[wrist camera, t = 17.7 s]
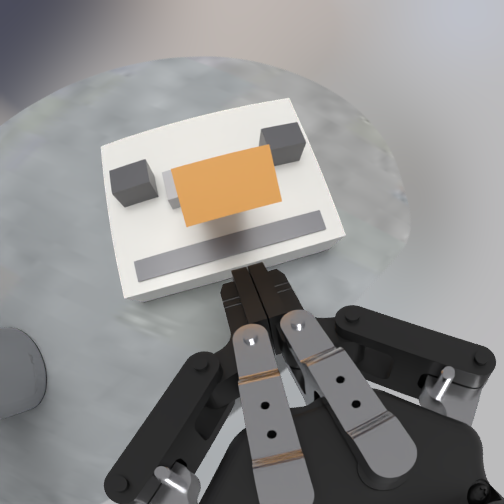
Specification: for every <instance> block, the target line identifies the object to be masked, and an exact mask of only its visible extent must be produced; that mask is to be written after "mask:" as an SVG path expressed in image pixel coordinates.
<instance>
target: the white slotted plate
mask: <svg viewBox="0 0 504 504" xmlns="http://www.w3.org/2000/svg"><path fill="white" fill-rule="evenodd" d="M268 144H269V146H270V150H271V154H272V159H273V163H274V167H275V172H276V176H277V180H278V185H279V189H280V194H281V198H282V202H278V203H274V204H270V205H266V206H262V207H259V208H255V209H251V210H247V211H243V212H240V213H236V214H232V215H229V216H225V217H221V218H218V219H214V220H210V221H207V222H203V223H200V224H196V225H193V226H189V227H186V224H185V220H184V216H183V213H182V209H181V206H180V202H179V199H178V195H177V191H176V188H175V184H174V180H173V176H172V172H171V169H173V168H176V167H180V166H183V165H187V164H190V163H194V162H198V161H201V160H205V159H209V158H213V157H217V156H221V155H225V154H229V153H233V152H237V151H241V150H245V149H250V148H254V147H259V146H263V145H268ZM101 154H102V165H103V175H104V184H105V192H106V200H107V207H108V214H109V221H110V227H111V233H112V239H113V245H114V250H115V256H116V261H117V266H118V271H119V276H120V281H121V285H122V290H123V294H124V298H125V299H129V300H134V301H138V302H146V301H150V300H153V299H157V298H161V297H164V296H168V295H172V294H175V293H179V292H182V291H186V290H190V289H193V288H197V287H200V286H204V285H208V284H211V283H215V282H218V281H222V280H225V279H229V278H232V273H231V271H232V270H235V269H239V268H242V267H247V266H249V265H253V264H256V263H260V262H263V263H264V266H265V268H267V267H270V266H274V265H277V264H281V263H284V262H288V261H291V260H294V259H298V258H301V257H305V256H308V255H311V254H315V253H318V252H321V251H325V250H328V249H330V248H331V247H332V246H334V245H335V244H336V243H337V242H338V241H340V240H341V239H342V238H343V237H345V236H346V235H345V232H344V229H343V226H342V223H341V221H340V218H339V215H338V213H337V210H336V207H335V205H334V202H333V200H332V197H331V194H330V192H329V189H328V187H327V184H326V182H325V179H324V177H323V174H322V172H321V169H320V167H319V164H318V162H317V160H316V157H315V155H314V153H313V150H312V148H311V146H310V143H309V141H308V139H307V136H306V134H305V132H304V130H303V127H302V125H301V123H300V121H299V118H298V116H297V114H296V112H295V110H294V108H293V105H292V103H291V101H290V99H289V98H286V99H279V100H274V101H268V102H262V103H257V104H252V105H247V106H242V107H237V108H232V109H228V110H223V111H219V112H214V113H210V114H206V115H202V116H198V117H194V118H190V119H186V120H183V121H179V122H175V123H172V124H168V125H165V126H161V127H158V128H155V129H151V130H148V131H145V132H142V133H139V134H136V135H132V136H129V137H126V138H123V139H121V140H118V141H115V142H112V143H109V144H106V145H104V146H101ZM247 269H248V268H247Z"/></svg>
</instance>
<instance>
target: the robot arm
mask: <svg viewBox="0 0 504 504" xmlns="http://www.w3.org/2000/svg"><path fill="white" fill-rule="evenodd" d="M247 268H248V269H247ZM231 273H232V277H233V282H230V283H226V284H223V286H222V289H221V292H220V293H221V297H222V301H223V305H224V308H225V312H226V316H227V320H228V323H229V327H230V331H231V338H230V341H229V342H228V344H227V345H226V346H225V347H224V348H223V349H221V350H220V351H218V352H216V353H215V354H213V353H211V352H198V353H196V354H194V355H192V356H191V357H189V358H188V359H187V361H186V362H185V364H184V365H183V367H182V368H181V369H180V371H179V372H178V374H177V375H176V377H175V378H174V380H173V381H172V383H171V384H170V385H169V387H168V388H167V390H166V391H165V393H164V394H163V396H162V397H161V398H160V400H159V401H158V403H157V404H156V406H155V407H154V409H153V410H152V411H151V413H150V414H149V416H148V417H147V419H146V420H145V422H144V423H143V424H142V426H141V427H140V429H139V430H138V432H137V433H136V434H135V436H134V437H133V439H132V440H131V442H130V443H129V445H128V446H127V447H126V449H125V450H124V452H123V453H122V455H121V456H120V457H119V459H118V460H117V462H116V463H115V465H114V466H113V467H112V469H111V470H110V472H109V473H108V475H107V476H106V478H105V481H104V489H105V492H106V495H107V496H108V497H109V498H110V499H111V500H112V501H114V502H116V503H118V504H198V503H197V499H198V495H199V492H200V489H201V485H200V481H199V479H198V478H197V476H196V475H195V472H196V471H197V469H198V467H199V466H200V464H201V462H202V461H203V459H204V457H205V455H206V453H207V452H208V450H209V449H210V447H211V445H212V443H213V442H214V440H215V438H216V436H217V435H218V433H219V431H220V429H221V428H222V426H223V424H224V422H225V421H226V419H227V417H228V415H229V413H230V412H231V410H232V408H233V406H234V404H235V399H237V398H238V397H241V403H242V409H243V414H244V419H245V425H246V428H245V429H243V430H242V431H241V432H240V433H239V434H238V435H237V436H236V437H235V438H234V439H233V441H232V442H231V444H230V445H229V447H228V449H227V451H226V453H225V455H224V457H223V459H222V461H221V463H220V465H219V467H218V469H217V470H216V472H215V474H214V476H213V478H212V480H211V482H210V484H209V486H208V488H207V489H206V491H205V493H204V495H203V497H202V499H201V501H200V502H199V504H504V498H503V497H502V496H501V495H500V494H499V493H498V492H497V491H496V490H495V489H494V488H493V487H492V486H491V485H490V484H489V482H488V480H487V478H486V475H485V471H484V465H483V449H482V448H483V447H482V442H481V440H480V437H479V436H478V434H477V432H476V431H475V430H474V429H473V428H472V427H471V425H472V422H473V419H474V416H475V412H476V409H477V405H478V402H479V397H480V394H481V390H482V388H483V387H484V385H485V384H486V382H487V380H488V378H489V376H490V375H491V373H492V372H493V370H494V368H495V366H496V359H495V356H494V354H493V353H492V352H491V351H490V350H489V349H488V348H486V347H484V346H481V345H478V344H474V343H471V342H468V341H465V340H462V339H458V338H455V337H452V336H448V335H446V334H443V333H439V332H436V331H433V330H430V329H427V328H424V327H421V326H417V325H415V324H411V323H408V322H405V321H402V320H399V319H396V318H393V317H390V316H387V315H384V314H381V313H378V312H375V311H372V310H368V309H366V308H363V307H360V306H355V305H350V306H345V307H343V308H341V309H340V310H339V311H338V312H337V313H336V316H335V317H332V318H316V317H314V316H313V315H312V314H311V313H310V312H308V311H305V310H304V309H303V307H302V306H301V304H300V302H299V300H298V298H297V296H296V295H295V293H294V291H293V289H292V287H291V285H290V284H289V282H288V280H287V278H286V276H285V275H284V274H283V273H282V272H280V271H279V270H277V269H275V270H271V271H268V272H267V270H266V268H265V266H264V263H263V262H260V263H256V264H253V265H249V266H247V267H242V268H239V269H235V270H232V271H231ZM273 348H274V349H273ZM274 350H275V353H276V355H277V354H281V353H282V355H283V357H284V360H285V362H286V363H287V367H288V369H289V371H290V373H291V375H292V377H293V379H294V380H295V383H296V384H297V386H298V388H299V390H300V392H301V394H302V396H303V398H304V400H305V402H306V405H307V406H304V407H296V408H289V405H288V401H287V397H286V394H285V391H284V387H283V383H282V379H281V376H280V373H279V371H278V368H277V364H276V361H275V357H274V355H275V354H274ZM366 380H368V381H371V382H373V383H376V384H379V385H381V386H384V387H386V388H389V389H392V390H394V391H397V392H400V393H403V394H405V395H408V396H411V397H414V398H417V399H419V403H420V405H421V406H419V405H416V404H414V403H411V402H409V401H406V400H404V399H401V398H399V397H396V396H394V395H392V394H389V393H387V392H385V391H381V390H378V389H373V388H371V387H370V385H369V384H368V382H367V381H366ZM45 388H46V372H45V367H44V363H43V360H42V357H41V354H40V352H39V350H38V348H37V346H36V345H35V344H34V342H33V341H32V340H31V338H30V337H29V336H28V335H26V334H25V333H24V332H22V331H21V330H19V329H15V328H5V327H0V420H1V419H4V418H7V417H10V416H13V415H16V414H19V413H22V412H24V411H27V410H30V409H32V408H34V407H36V406H37V405H38V404H39V403H40V401H41V400H42V398H43V396H44V392H45Z"/></svg>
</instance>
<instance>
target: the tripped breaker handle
mask: <svg viewBox="0 0 504 504" xmlns="http://www.w3.org/2000/svg"><path fill="white" fill-rule="evenodd" d="M171 172H172V176H173V180H174V184H175V188H176V191H177V195H178V199H179V202H180V206H181V209H182V213H183V216H184V220H185V224H186V227H189V226H193V225H196V224H200V223H203V222H207V221H210V220H214V219H218V218H221V217H225V216H229V215H232V214H236V213H240V212H243V211H247V210H251V209H255V208H259V207H262V206H266V205H270V204H274V203H278V202H282V198H281V194H280V189H279V185H278V180H277V176H276V172H275V167H274V163H273V159H272V154H271V150H270V146H269V144H268V145H263V146H259V147H254V148H250V149H245V150H241V151H237V152H233V153H229V154H225V155H221V156H217V157H213V158H209V159H205V160H201V161H198V162H194V163H190V164H187V165H183V166H180V167H176V168H173V169H171Z"/></svg>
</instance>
